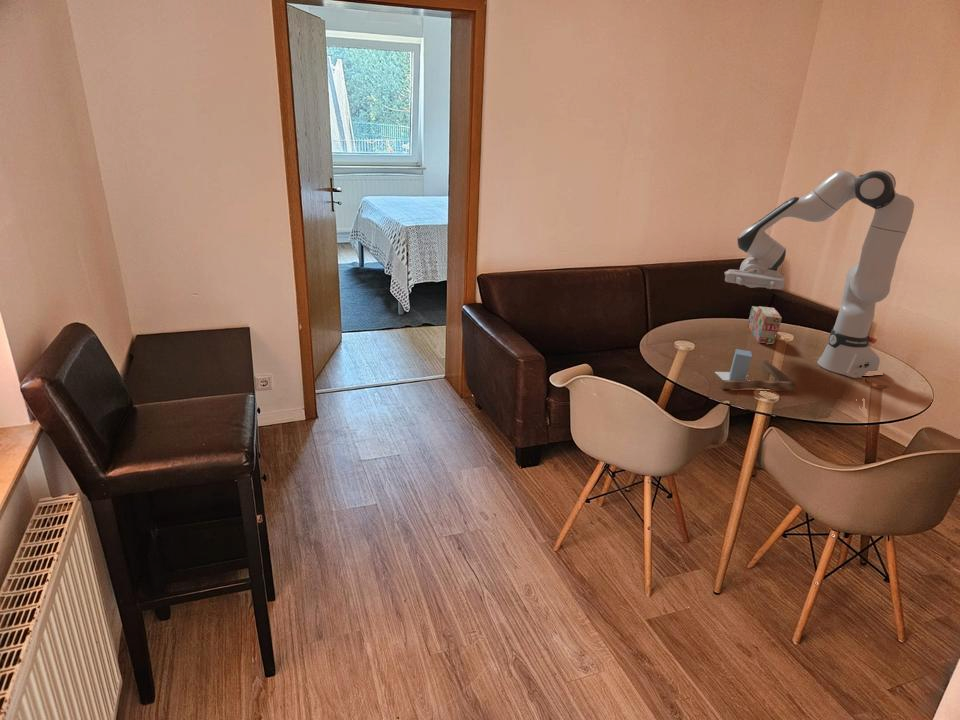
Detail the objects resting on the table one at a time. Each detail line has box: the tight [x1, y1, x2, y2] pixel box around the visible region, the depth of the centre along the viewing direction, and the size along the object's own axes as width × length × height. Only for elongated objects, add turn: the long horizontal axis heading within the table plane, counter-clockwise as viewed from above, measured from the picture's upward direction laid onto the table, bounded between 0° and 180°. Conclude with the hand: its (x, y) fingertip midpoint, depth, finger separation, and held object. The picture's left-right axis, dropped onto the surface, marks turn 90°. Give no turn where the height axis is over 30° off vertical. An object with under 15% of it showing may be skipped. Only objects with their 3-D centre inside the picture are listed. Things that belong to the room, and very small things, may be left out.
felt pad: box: [714, 371, 730, 381], centre depth 212 cm, size 11×11×1 cm
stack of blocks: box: [747, 305, 783, 344], centre depth 253 cm, size 21×6×12 cm, turn 170°
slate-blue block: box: [729, 348, 753, 380], centre depth 209 cm, size 5×5×10 cm
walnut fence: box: [720, 359, 797, 392], centre depth 212 cm, size 26×19×3 cm
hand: (755, 284), depth 216 cm, fingers open, 8 cm apart
